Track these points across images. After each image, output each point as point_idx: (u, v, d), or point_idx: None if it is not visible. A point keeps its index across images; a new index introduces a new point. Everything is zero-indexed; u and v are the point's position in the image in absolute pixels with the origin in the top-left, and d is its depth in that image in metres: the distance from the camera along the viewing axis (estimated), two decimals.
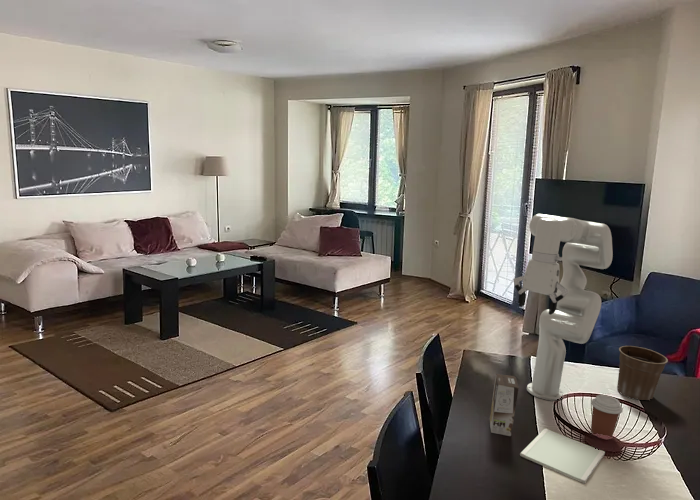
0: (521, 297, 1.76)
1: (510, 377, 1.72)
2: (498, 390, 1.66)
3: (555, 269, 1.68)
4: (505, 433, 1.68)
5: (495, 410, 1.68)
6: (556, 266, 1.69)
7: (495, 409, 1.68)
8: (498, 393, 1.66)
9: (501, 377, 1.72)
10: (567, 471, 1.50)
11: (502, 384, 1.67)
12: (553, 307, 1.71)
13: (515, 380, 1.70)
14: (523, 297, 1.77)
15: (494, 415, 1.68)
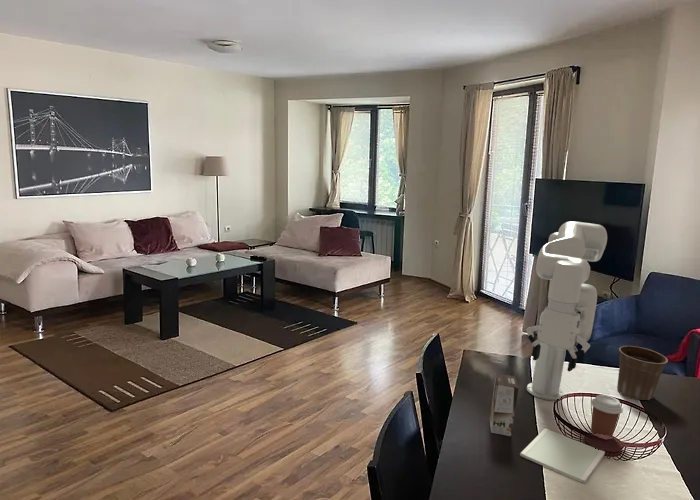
0: (535, 350, 1.54)
1: (510, 377, 1.72)
2: (498, 390, 1.66)
3: (575, 320, 1.47)
4: (505, 433, 1.68)
5: (495, 410, 1.68)
6: (576, 317, 1.47)
7: (495, 409, 1.68)
8: (498, 393, 1.66)
9: (501, 377, 1.72)
10: (567, 471, 1.50)
11: (502, 384, 1.67)
12: (573, 363, 1.49)
13: (515, 380, 1.70)
14: (537, 350, 1.55)
15: (494, 415, 1.68)
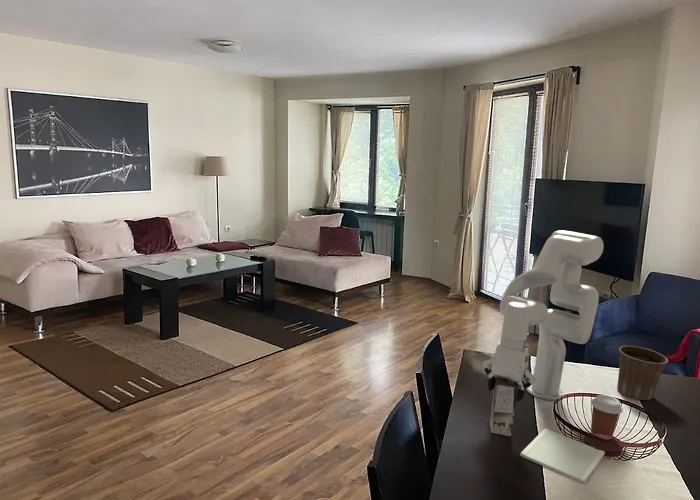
0: (490, 381, 1.71)
1: None
2: (498, 390, 1.66)
3: (523, 356, 1.64)
4: (505, 433, 1.68)
5: (495, 410, 1.68)
6: (524, 353, 1.64)
7: (495, 409, 1.67)
8: (498, 393, 1.66)
9: (501, 377, 1.72)
10: (567, 471, 1.50)
11: (502, 384, 1.67)
12: (521, 394, 1.66)
13: None
14: (492, 381, 1.72)
15: (494, 415, 1.68)
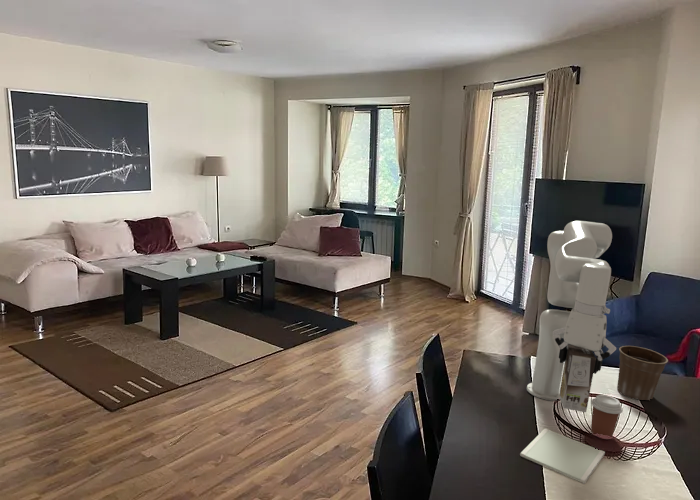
0: (562, 352, 1.55)
1: None
2: (572, 361, 1.50)
3: (602, 323, 1.48)
4: (580, 409, 1.52)
5: (569, 383, 1.52)
6: (603, 319, 1.48)
7: (569, 382, 1.52)
8: (572, 364, 1.51)
9: (574, 348, 1.56)
10: (567, 471, 1.50)
11: (577, 354, 1.51)
12: (598, 365, 1.50)
13: (590, 351, 1.54)
14: (564, 352, 1.56)
15: (567, 389, 1.52)
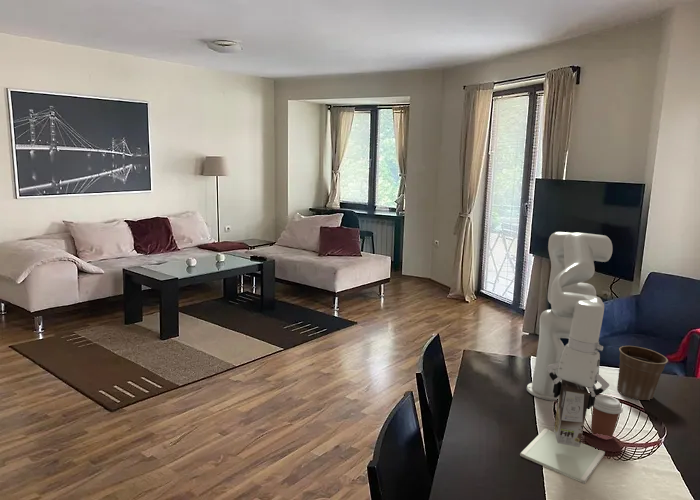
0: (556, 387, 1.57)
1: None
2: (566, 397, 1.53)
3: (595, 359, 1.50)
4: (573, 444, 1.54)
5: (562, 418, 1.54)
6: (596, 356, 1.50)
7: (562, 417, 1.54)
8: (566, 400, 1.53)
9: (568, 383, 1.58)
10: (567, 471, 1.50)
11: (570, 390, 1.53)
12: (591, 401, 1.52)
13: None
14: (558, 387, 1.58)
15: (561, 424, 1.54)
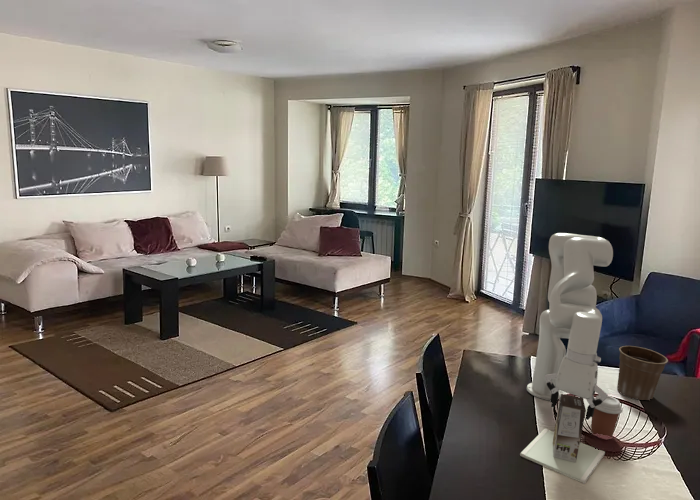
0: (554, 397, 1.58)
1: (576, 398, 1.59)
2: (562, 412, 1.54)
3: (593, 371, 1.51)
4: (569, 459, 1.55)
5: (559, 433, 1.55)
6: (594, 367, 1.51)
7: (559, 432, 1.55)
8: (562, 415, 1.54)
9: (566, 398, 1.59)
10: (567, 471, 1.50)
11: (567, 405, 1.54)
12: (590, 412, 1.53)
13: (582, 402, 1.57)
14: (556, 397, 1.59)
15: (557, 438, 1.56)
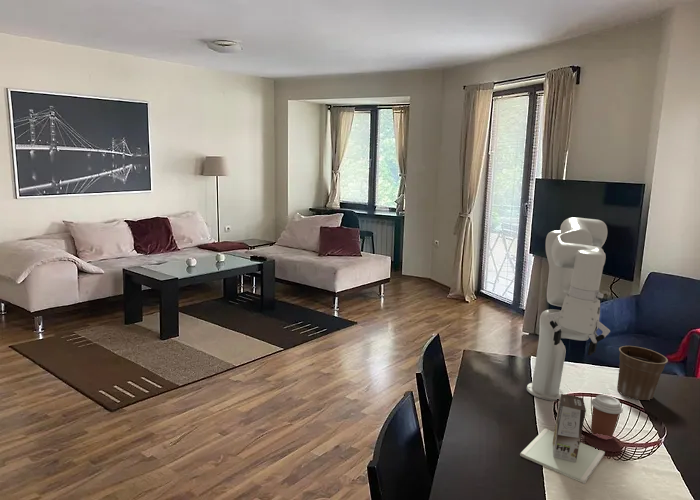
0: (557, 335, 1.61)
1: (576, 398, 1.59)
2: (562, 412, 1.54)
3: (596, 307, 1.53)
4: (569, 459, 1.55)
5: (559, 433, 1.55)
6: (597, 303, 1.53)
7: (559, 432, 1.55)
8: (562, 415, 1.54)
9: (566, 398, 1.59)
10: (567, 471, 1.50)
11: (567, 405, 1.54)
12: (593, 347, 1.56)
13: (582, 402, 1.57)
14: (559, 335, 1.62)
15: (557, 438, 1.56)
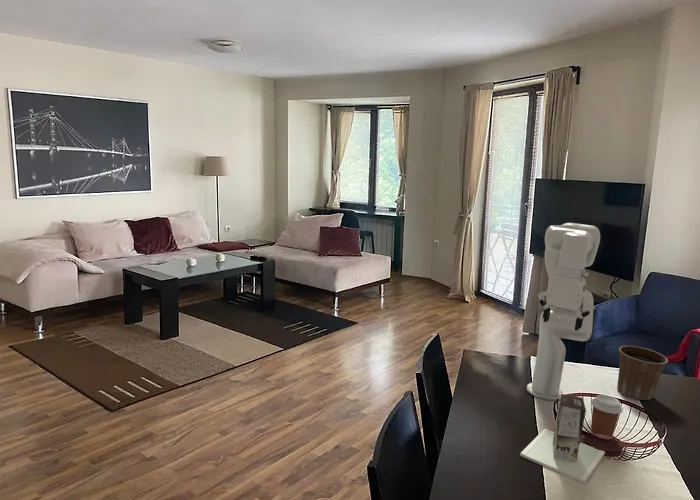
0: (546, 312, 1.73)
1: (576, 398, 1.59)
2: (562, 412, 1.54)
3: (581, 285, 1.66)
4: (569, 459, 1.55)
5: (559, 433, 1.55)
6: (582, 282, 1.66)
7: (559, 432, 1.55)
8: (562, 415, 1.54)
9: (566, 398, 1.59)
10: (567, 471, 1.50)
11: (567, 405, 1.54)
12: (579, 323, 1.68)
13: (582, 402, 1.57)
14: (548, 312, 1.74)
15: (557, 438, 1.56)
